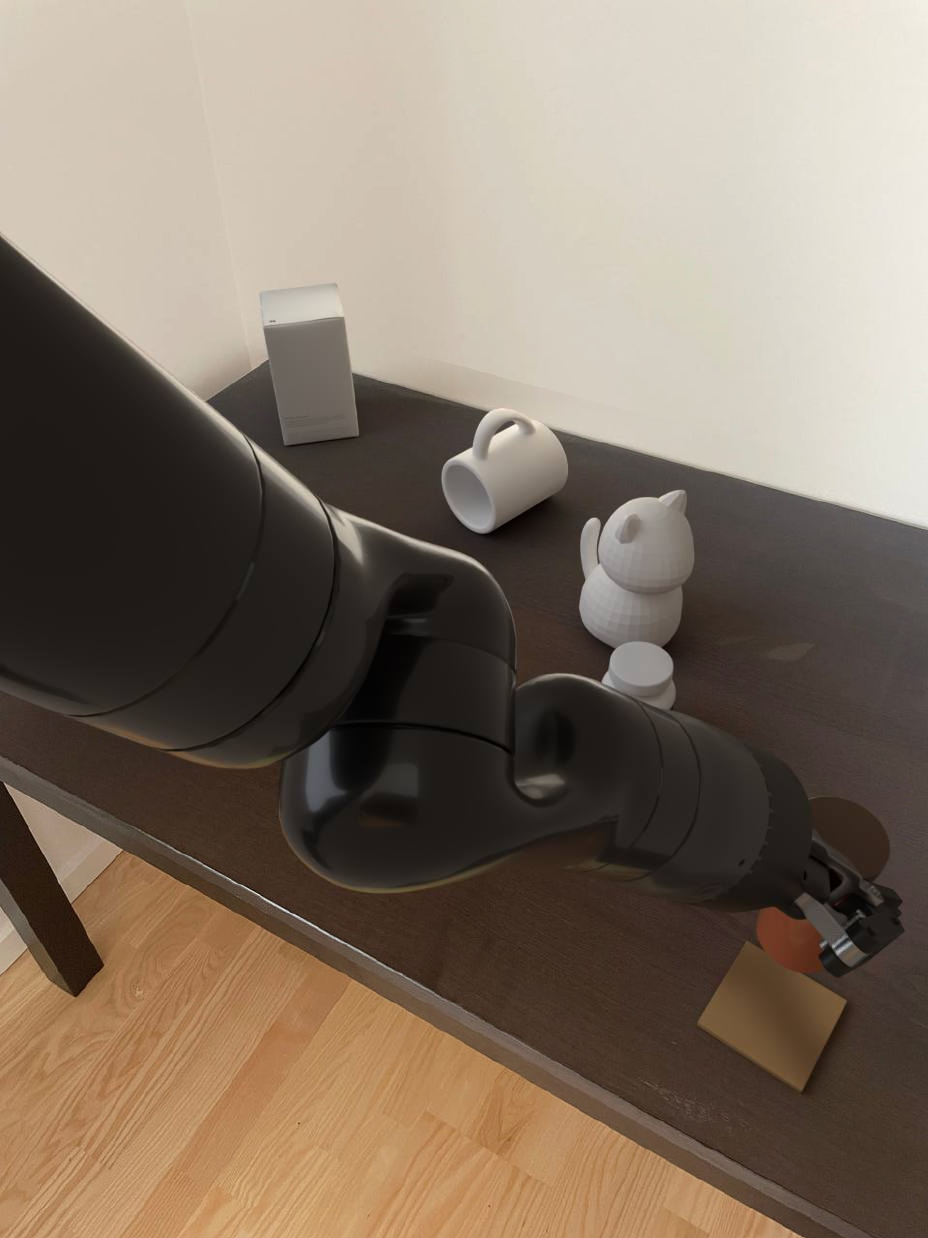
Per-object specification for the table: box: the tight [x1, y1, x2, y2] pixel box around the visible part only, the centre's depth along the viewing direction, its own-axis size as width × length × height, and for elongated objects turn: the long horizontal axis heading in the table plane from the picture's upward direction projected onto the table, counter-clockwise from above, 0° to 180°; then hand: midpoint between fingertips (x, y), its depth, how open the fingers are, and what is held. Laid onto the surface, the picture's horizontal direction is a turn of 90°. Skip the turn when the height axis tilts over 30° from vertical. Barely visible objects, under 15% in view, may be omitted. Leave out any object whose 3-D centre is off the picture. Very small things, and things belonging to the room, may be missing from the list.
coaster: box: [696, 940, 848, 1094], centre depth 62 cm, size 7×7×1 cm
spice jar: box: [755, 795, 891, 974], centre depth 53 cm, size 5×5×10 cm
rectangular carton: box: [259, 282, 360, 446], centre depth 110 cm, size 9×9×15 cm
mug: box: [441, 407, 569, 535], centre depth 98 cm, size 8×10×12 cm
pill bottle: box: [601, 642, 677, 711], centre depth 75 cm, size 6×6×10 cm
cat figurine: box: [578, 489, 695, 650], centre depth 84 cm, size 9×12×15 cm
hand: (848, 865), depth 52 cm, fingers closed on spice jar, 5 cm apart
